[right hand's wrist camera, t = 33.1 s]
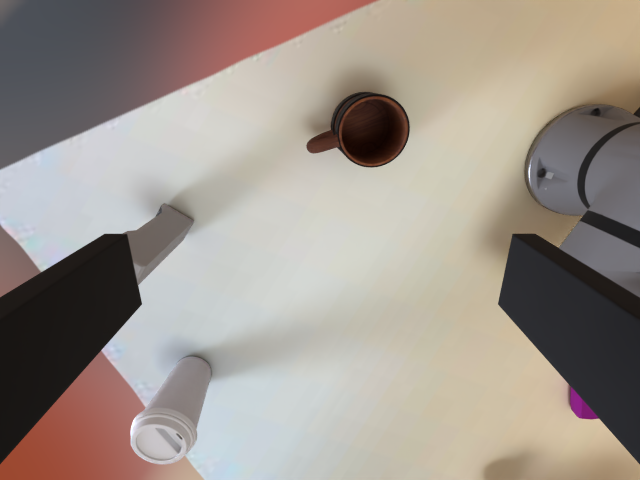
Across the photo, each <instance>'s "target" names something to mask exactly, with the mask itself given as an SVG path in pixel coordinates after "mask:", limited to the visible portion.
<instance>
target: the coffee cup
mask: <svg viewBox="0 0 640 480" xmlns="http://www.w3.org/2000/svg"><path fill="white" fill-rule="evenodd" d="M210 378H211V368H210V366H209V364H208V363H207V362H206V361H204V360H203V359H201V358H198V357H185V358H183V359H181V360H180V361H179V362H178V363H177V364H176V366H175V367H174V369H173V370H172V371H171V373H170V374H169V376H168V377H167V379H166V380H165V381H164V383H163V384H162V386H161V387H160V389H159V390H158V391H157V393H156V394H155V396H154V397H153V399H152V400H151V401H150V403H149V404H148V406H147V407H146V409H145V410H144V411H143V412H141V413H140V414H138V415H137V416H136V418H135V419H134V421H133V423H132V427H131V446H132V448H133V450H134V451H135V453H136V454H137V455H138V456H140V457H141V458H143V459H144V460H146V461H149V462H152V463H156V464H170V463H174V462H176V461H178V460H180V459H181V458H182V457H183V456H184V455H185V454H187V453H188V452H189V451H190V450H191V448H192V447H193V446H194V444H195V442H196V440H197V430H196V428H197V425H198V421H199V417H200V414H201V410H202V406H203V403H204V399H205V396H206V392H207V388H208V385H209V381H210Z"/></svg>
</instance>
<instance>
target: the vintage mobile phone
mask: <svg viewBox="0 0 640 480" xmlns="http://www.w3.org/2000/svg"><path fill="white" fill-rule="evenodd" d="M193 222H194V221H193V220H192V219H190V218H188V217H186V216H185V215H183V214H181V213H180V212H178V211H176V210H175V209H173V208H171V207H170V206H168V205H166V204H163V205H162V206H161V207H160V209H159V211H158V213H157V215H156V217H155V218H154V219H152V220H151V221H149V222H148V223H146V224H145V225H143V226H142V227H141V228H139V229H138V230H135V231H127V232H125V233H123V234H127V235H128V240H129V245H130V249H131V254H132V259H133V264H134V269H135V273H136V278H137V283H138V285H139V284H140V283H141V282H142V281H143V280H144V279H145V278H146V277H147V276H148V275H149V274H150V273H151V272H152V271H153V270H154V269H155V268H156V267H157V266H158V265H159V264H160V263H161V262H162V261H163V260H164V259H165V258H166V257H167V256H168V255H169V254H170V253H171V252H172V251H173V250H174V249H175V248H176V247H177V246H178V245H179V244H180V243H181V242H182V241H183V240H184V238H185V236H186V234H187V233H188V231H189V229H190V227H191V226H192V224H193Z"/></svg>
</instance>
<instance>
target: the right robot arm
mask: <svg viewBox="0 0 640 480" xmlns="http://www.w3.org/2000/svg"><path fill="white" fill-rule="evenodd" d="M525 180H526V184H527V187H528V190H529V192H530V194H531V195H532V197H533V198H534V199H535V200H536V201H537V202H538V203H539V204H540V205H542V206H543V207H545V208H547V209H549V210H551V211H554V212H556V213H560V214H565V215H572V216H580V215H583V217H582V218H581V219H580V221H579V222H578V223H577V225H576V226H575V227H574V229H573V230H572V231H571V232H570V234H569V235H568V236H567V238H566V239H565V240H564V242H563V243H562V244H561V246H560V247H559V248H558V247H556V246H554V245H553V244H551V243H549V242H548V241H546V240H544V239H543V238H541V237H539V236H538V235H536V234H513V235H512V240H511V245H510V249H509V254H508V259H507V264H506V269H505V273H504V278H503V283H502V288H501V293H500V297H499V302H498V305H499V306H500V307H501V308H502V309H503V310H504V311H505V313H506V314H507V315H508V316H509V317H510V318H511V319H512V320H513V322H514V323H515V324H516V325H517V326H518V327H519V328H520V329H521V331H522V332H523V333H524V334H525V335H526V336H527V337H528V339H529V340H530V341H531V342H532V343H533V344H534V345H535V346H536V348H537V349H538V350H539V351H540V352H541V353H542V354H543V355H544V357H545V358H546V359H547V360H548V361H549V362H550V363H551V364H552V366H553V367H554V368H555V369H556V370H557V371H558V372H559V374H560V375H561V376H562V377H563V378H564V379H565V380H566V381H567V383H568V384H569V385H570V386H571V387H572V388H573V389H574V390H575V392H576V393H577V394H578V395H579V396H580V397H581V398H582V400H583V401H584V402H585V403H586V404H587V405H588V406H589V407H590V409H591V410H592V411H593V412H594V413H595V414H596V415H597V416H598V418H599V419H600V420H601V421H602V422H603V423H604V424H605V425H606V427H607V428H608V429H609V430H610V431H611V432H612V433H613V435H614V436H615V437H616V438H617V439H618V440H619V441H620V442H621V444H622V445H623V446H624V447H625V448H626V449H627V450H628V451H629V453H630V454H631V455H632V456H633V457H634V458H635V459H636V460H637V462H638V463H639V464H640V107H639V109H638V110H637V111H636V112H635V113H634V114H631V113H630V112H628V111H626V110H624V109H621V108H618V107H614V106H610V105H584V106H579V107H576V108H573V109H570V110H568V111H566V112H564V113H562V114H561V115H559V116H557V117H556V118H555V119H553V120H552V121H551V122H550V123H549V124H547V125H546V126H545V127H544V128H543V130H542V131H541V132H540V133H539V134H538V136H537V137H536V139H535V140H534V142H533V144H532V146H531V148H530V150H529V153H528V156H527V159H526V165H525ZM141 305H142V302H141V297H140V293H139V288H138V283H137V278H136V273H135V269H134V264H133V259H132V254H131V249H130V245H129V240H128V235H127V234H104V235H102V236H101V237H99V238H97V239H96V240H94V241H92V242H91V243H89V244H87V245H86V246H84V247H82V248H81V249H79V250H78V251H76V252H74V253H73V254H71V255H69V256H68V257H66V258H64V259H63V260H61V261H59V262H58V263H56V264H54V265H53V266H51V267H50V268H48V269H46V270H45V271H43V272H41V273H40V274H38V275H36V276H35V277H33V278H31V279H30V280H28V281H27V282H25V283H23V284H22V285H20V286H18V287H17V288H15V289H13V290H12V291H10V292H8V293H7V294H5V295H3V296H2V297H0V464H1V463H2V462H3V460H4V459H5V458H6V457H7V456H8V455H9V454H10V452H11V451H12V450H13V449H14V448H15V447H16V446H17V445H18V444H19V442H20V441H21V440H22V439H23V438H24V437H25V436H26V435H27V433H28V432H29V431H30V430H31V429H32V428H33V427H34V425H35V424H36V423H37V422H38V421H39V420H40V419H41V418H42V416H43V415H44V414H45V413H46V412H47V411H48V410H49V409H50V407H51V406H52V405H53V404H54V403H55V402H56V401H57V399H58V398H59V397H60V396H61V395H62V394H63V393H64V392H65V390H66V389H67V388H68V387H69V386H70V385H71V384H72V383H73V381H74V380H75V379H76V378H77V377H78V376H79V375H80V373H81V372H82V371H83V370H84V369H85V368H86V367H87V366H88V364H89V363H90V362H91V361H92V360H93V359H94V358H95V357H96V355H97V354H98V353H99V352H100V351H101V350H102V349H103V348H104V346H105V345H106V344H107V343H108V342H109V341H110V340H111V339H112V337H113V336H114V335H115V334H116V333H117V332H118V331H119V329H120V328H121V327H122V326H123V325H124V324H125V323H126V322H127V320H128V319H129V318H130V317H131V316H132V315H133V314H134V313H135V311H136V310H137V309H138V308H139V307H140V306H141Z"/></svg>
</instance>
